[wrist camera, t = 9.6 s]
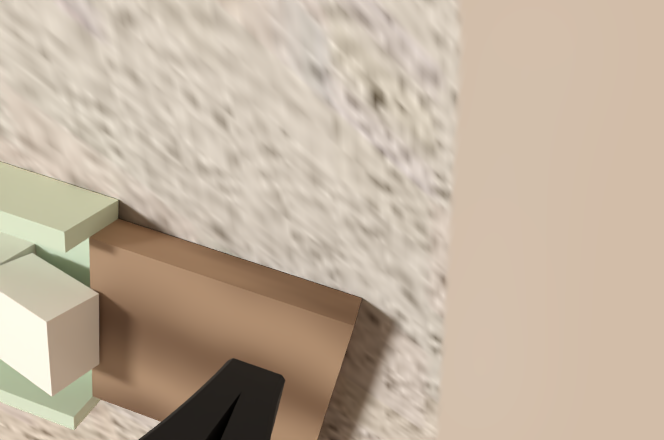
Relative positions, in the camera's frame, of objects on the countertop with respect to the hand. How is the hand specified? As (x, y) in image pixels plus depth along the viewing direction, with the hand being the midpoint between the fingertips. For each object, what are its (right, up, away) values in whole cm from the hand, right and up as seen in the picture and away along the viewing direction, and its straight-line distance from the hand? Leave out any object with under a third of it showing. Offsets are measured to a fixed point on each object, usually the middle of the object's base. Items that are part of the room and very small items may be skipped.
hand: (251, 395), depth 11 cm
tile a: (-11, 0, +12) cm, 16 cm away
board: (-4, -2, +12) cm, 13 cm away
